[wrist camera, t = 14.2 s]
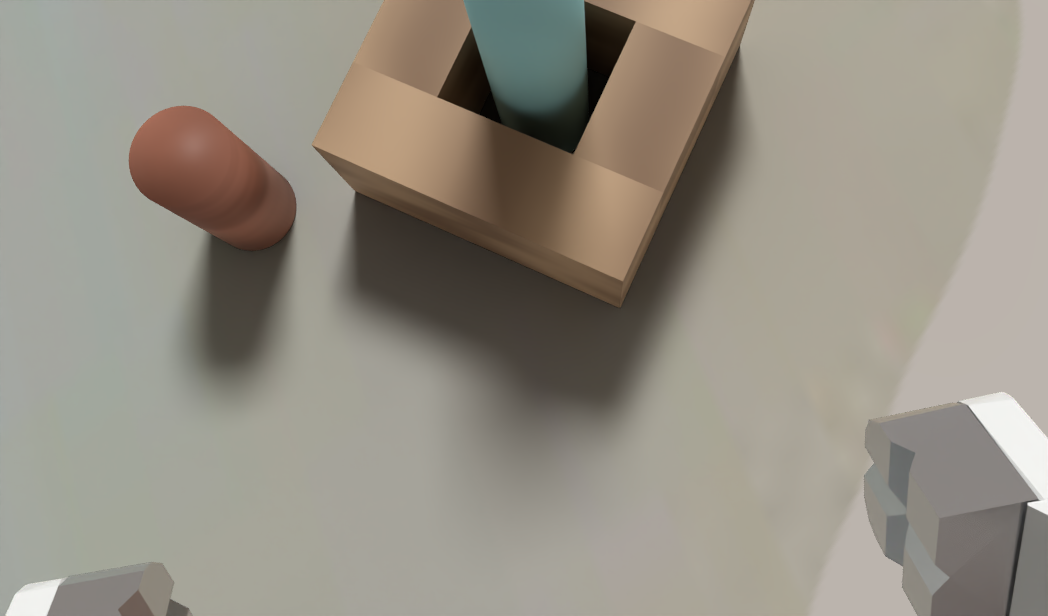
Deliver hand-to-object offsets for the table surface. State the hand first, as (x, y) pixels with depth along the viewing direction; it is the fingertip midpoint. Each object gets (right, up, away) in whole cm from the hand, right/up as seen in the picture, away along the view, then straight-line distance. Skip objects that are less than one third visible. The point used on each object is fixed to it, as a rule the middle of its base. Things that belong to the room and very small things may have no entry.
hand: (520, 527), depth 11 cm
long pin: (+1, +9, +22) cm, 24 cm away
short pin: (-9, +6, +22) cm, 25 cm away
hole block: (+1, +9, +22) cm, 24 cm away
